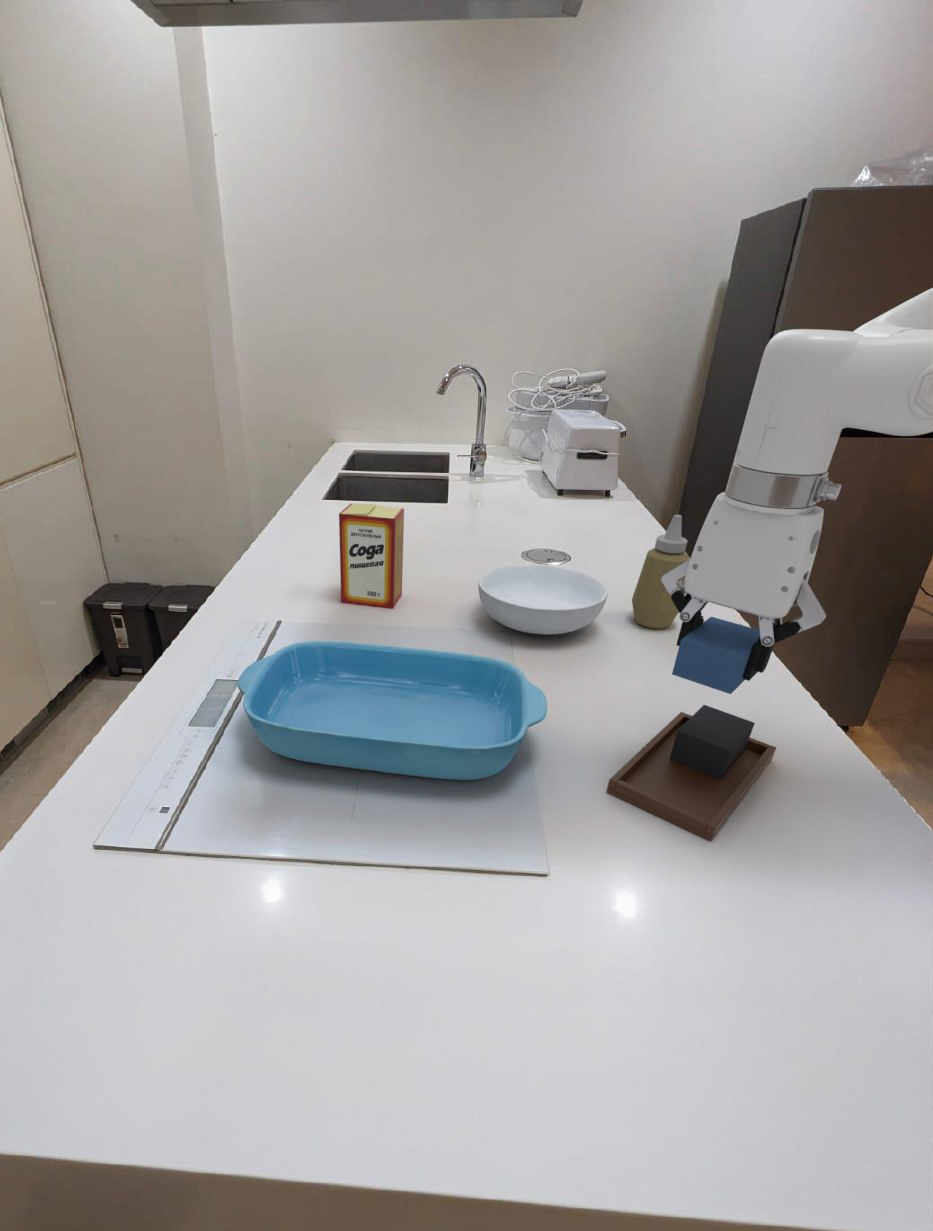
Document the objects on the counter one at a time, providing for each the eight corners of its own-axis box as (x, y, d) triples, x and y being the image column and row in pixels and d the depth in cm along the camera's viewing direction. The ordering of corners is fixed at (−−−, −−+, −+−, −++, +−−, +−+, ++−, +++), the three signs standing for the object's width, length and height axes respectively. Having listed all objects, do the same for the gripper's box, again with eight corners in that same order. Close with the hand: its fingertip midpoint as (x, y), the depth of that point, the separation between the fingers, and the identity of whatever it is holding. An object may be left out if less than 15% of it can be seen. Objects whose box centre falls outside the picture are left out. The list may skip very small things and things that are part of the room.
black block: (744, 750, 81) (754, 722, 79) (720, 780, 76) (730, 751, 74) (695, 731, 84) (704, 704, 82) (669, 758, 79) (677, 730, 77)
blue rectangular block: (757, 667, 71) (769, 632, 69) (730, 694, 66) (742, 658, 64) (701, 649, 75) (711, 616, 73) (671, 674, 70) (680, 639, 68)
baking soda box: (401, 594, 122) (404, 506, 114) (393, 608, 117) (394, 516, 108) (351, 589, 124) (350, 501, 116) (341, 602, 119) (338, 511, 110)
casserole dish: (537, 702, 91) (544, 655, 87) (542, 808, 72) (552, 753, 68) (273, 678, 95) (269, 632, 91) (214, 771, 76) (206, 718, 73)
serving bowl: (621, 620, 114) (629, 582, 111) (563, 663, 101) (571, 621, 97) (515, 589, 125) (519, 553, 122) (450, 625, 112) (453, 585, 108)
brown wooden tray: (772, 759, 81) (776, 747, 80) (710, 841, 68) (715, 828, 67) (677, 723, 87) (681, 711, 86) (606, 792, 75) (609, 779, 74)
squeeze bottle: (628, 629, 111) (652, 520, 102) (626, 610, 118) (648, 507, 108) (679, 635, 110) (709, 525, 100) (674, 615, 116) (701, 511, 107)
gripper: (891, 498, 58) (817, 680, 68) (694, 465, 68) (654, 629, 77) (871, 515, 53) (794, 708, 63) (662, 477, 63) (624, 650, 73)
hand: (717, 663), depth 70 cm, fingers closed on blue rectangular block, 6 cm apart
